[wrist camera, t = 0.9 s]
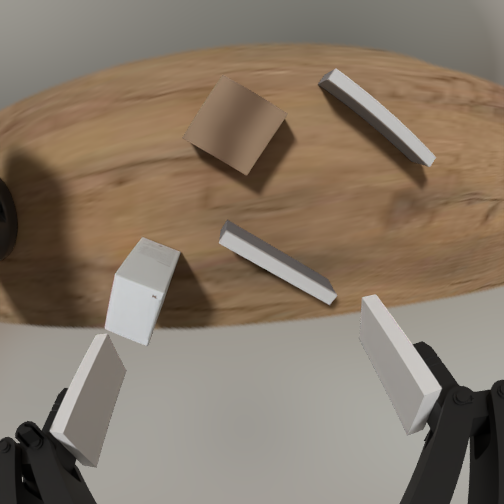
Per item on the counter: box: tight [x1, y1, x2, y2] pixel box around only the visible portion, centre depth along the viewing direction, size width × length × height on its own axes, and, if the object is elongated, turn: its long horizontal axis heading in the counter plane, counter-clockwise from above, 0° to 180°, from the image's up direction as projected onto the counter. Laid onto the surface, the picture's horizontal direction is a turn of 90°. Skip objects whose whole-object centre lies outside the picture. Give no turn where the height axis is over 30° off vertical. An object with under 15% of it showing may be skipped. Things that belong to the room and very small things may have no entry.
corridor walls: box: [219, 69, 436, 305], centre depth 34 cm, size 16×23×4 cm
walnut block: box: [182, 75, 288, 176], centre depth 31 cm, size 8×8×4 cm
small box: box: [104, 237, 181, 346], centre depth 35 cm, size 8×6×10 cm
